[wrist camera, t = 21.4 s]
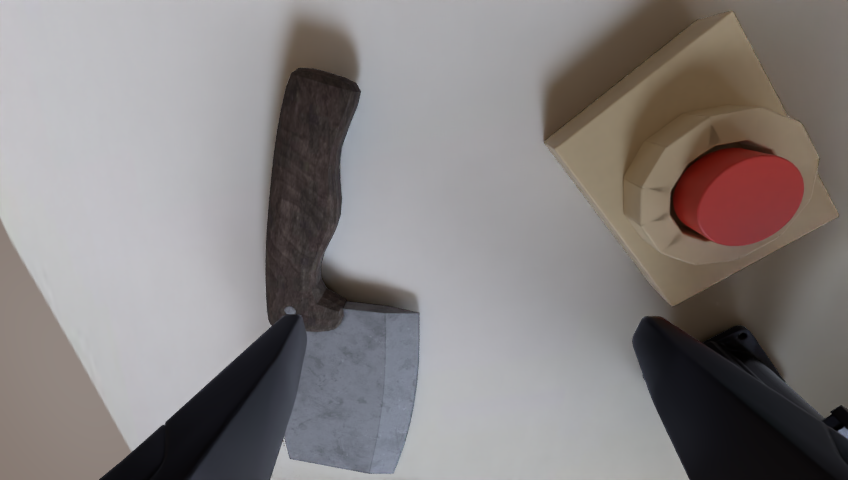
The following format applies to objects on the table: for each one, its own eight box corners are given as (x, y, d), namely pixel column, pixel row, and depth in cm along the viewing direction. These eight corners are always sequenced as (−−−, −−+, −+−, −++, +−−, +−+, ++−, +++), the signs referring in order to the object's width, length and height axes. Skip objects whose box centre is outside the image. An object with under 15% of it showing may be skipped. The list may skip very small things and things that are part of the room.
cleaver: (257, 62, 18) (232, 60, 16) (452, 83, 17) (452, 83, 15) (291, 452, 30) (280, 478, 28) (406, 469, 29) (403, 496, 28)
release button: (782, 195, 15) (821, 208, 13) (696, 245, 16) (723, 263, 14) (744, 127, 14) (781, 133, 12) (656, 186, 15) (680, 198, 14)
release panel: (799, 201, 18) (884, 230, 15) (651, 286, 21) (693, 329, 17) (697, 18, 16) (771, -2, 12) (542, 141, 18) (564, 156, 15)
